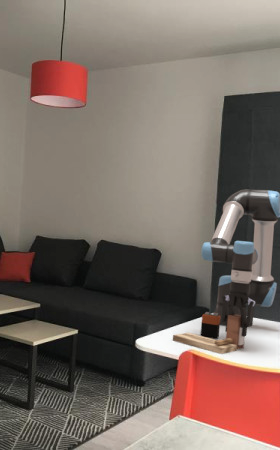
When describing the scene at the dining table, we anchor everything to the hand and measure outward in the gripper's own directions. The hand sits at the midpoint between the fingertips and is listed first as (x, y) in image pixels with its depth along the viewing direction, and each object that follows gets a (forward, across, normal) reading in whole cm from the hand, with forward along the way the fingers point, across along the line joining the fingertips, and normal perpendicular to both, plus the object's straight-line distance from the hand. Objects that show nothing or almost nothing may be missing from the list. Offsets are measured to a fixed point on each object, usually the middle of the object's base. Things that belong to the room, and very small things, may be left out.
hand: (234, 342), depth 194 cm
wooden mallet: (+2, 0, -5) cm, 5 cm away
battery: (+2, -16, +7) cm, 17 cm away
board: (+2, -8, -9) cm, 12 cm away
